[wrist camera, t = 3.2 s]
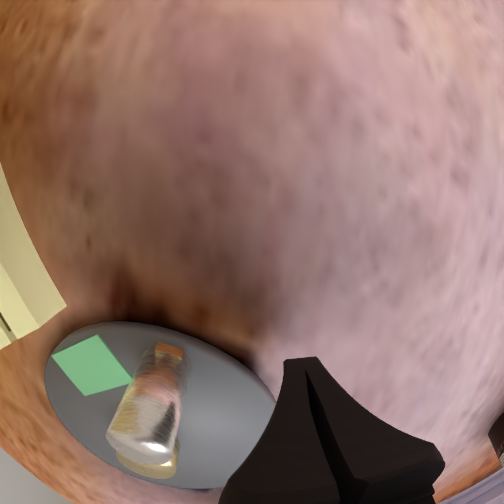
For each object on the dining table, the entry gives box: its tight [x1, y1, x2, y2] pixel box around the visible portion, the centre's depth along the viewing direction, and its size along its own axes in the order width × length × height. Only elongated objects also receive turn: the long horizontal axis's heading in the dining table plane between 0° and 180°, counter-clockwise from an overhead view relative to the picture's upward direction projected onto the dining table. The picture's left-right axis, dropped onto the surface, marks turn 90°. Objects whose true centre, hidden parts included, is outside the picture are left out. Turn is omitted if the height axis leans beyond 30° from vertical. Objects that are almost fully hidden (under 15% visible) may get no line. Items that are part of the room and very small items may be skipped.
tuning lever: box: [106, 342, 192, 479], centre depth 11 cm, size 10×4×5 cm, turn 162°
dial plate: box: [44, 321, 277, 489], centre depth 16 cm, size 16×16×1 cm
